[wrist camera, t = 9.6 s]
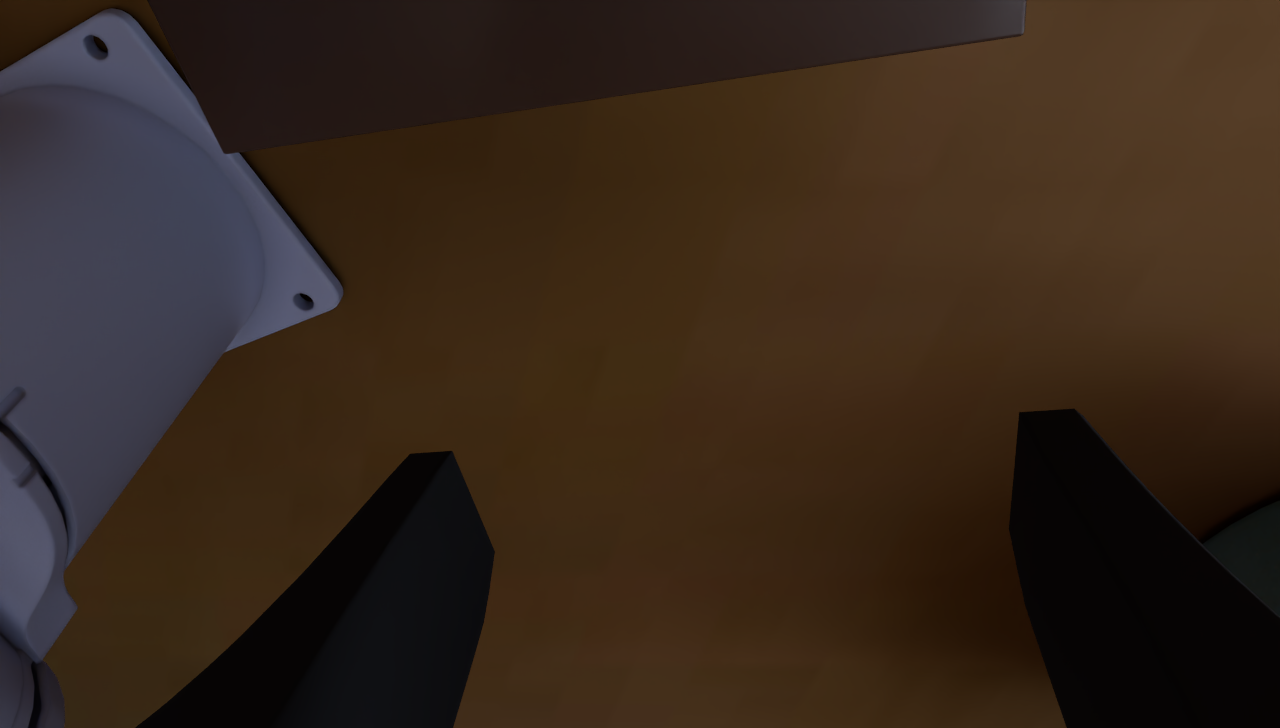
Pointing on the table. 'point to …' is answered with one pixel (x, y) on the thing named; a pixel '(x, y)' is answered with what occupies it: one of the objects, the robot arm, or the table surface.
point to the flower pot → (1253, 552)
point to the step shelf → (516, 53)
